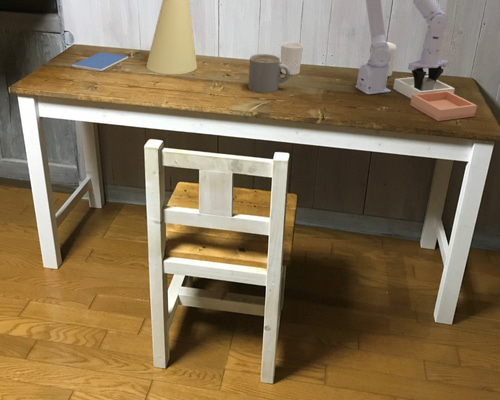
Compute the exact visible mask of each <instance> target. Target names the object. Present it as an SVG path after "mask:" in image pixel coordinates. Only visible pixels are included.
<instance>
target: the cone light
mask: <svg viewBox="0 0 500 400" xmlns="http://www.w3.org/2000/svg"><path fill="white" fill-rule="evenodd" d="M194 40H195V39H194V31H193V24H192V15H191V7H190V0H162V1H161V6H160V9H159V14H158V19H157V22H156V26H155V30H154V34H153V37H152V42H151V46H150V50H149V54H148V58H147V62H146V69H147V70H148V71H150V72H152V73H157V74H160V75H161V74H162V75H183V74H189V73H191V72H194V71H195V70H197V67H198V64H197V56H196V48H195V41H194Z"/></svg>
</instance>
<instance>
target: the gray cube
mask: <svg viewBox="0 0 500 400" xmlns="http://www.w3.org/2000/svg"><path fill="white" fill-rule="evenodd" d="M434 83H435V81H434V80H432V79H430V78H428V77H424V79H423V82H422V86H421V89H420V91H426V90H433V88H434ZM414 88H415V85H414Z"/></svg>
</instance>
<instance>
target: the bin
mask: <svg viewBox="0 0 500 400" xmlns="http://www.w3.org/2000/svg"><path fill="white" fill-rule="evenodd" d="M409 105H410V106H411V107H413V108H414V109H416V110H418V111H420V112H421V113H424V114H425V115H427V116H429V117H431V118H432V119H434V120H435V121H437V122H441V121H448V120H456V119H457V120H458V119H462V118H463V119H464V118H470V117H475V116H476V115H475V114H476V111H477V108H478V105H477V104H475V103H474V102H471V101H469V100H467V99H465V98H463V97H461V96H458V95H457V94H456V93H454V94H453V93H451V92H449V91H439V92H430V93H421V94H413V95H412V97H411V98H410V103H409Z"/></svg>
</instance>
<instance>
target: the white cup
mask: <svg viewBox="0 0 500 400" xmlns="http://www.w3.org/2000/svg"><path fill="white" fill-rule="evenodd" d="M303 51H304V44H302V43H300V42H295V41H284V42H282V43H281V44H280V64H284V65H287V66H288V67H289V69H290V76H294V75H299V73H300V71H301V66H302V65H301V63H302V57H303ZM280 72H281V73H282V74H284V75H286V71H285V69H281V70H280ZM281 73H280V74H281Z"/></svg>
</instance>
